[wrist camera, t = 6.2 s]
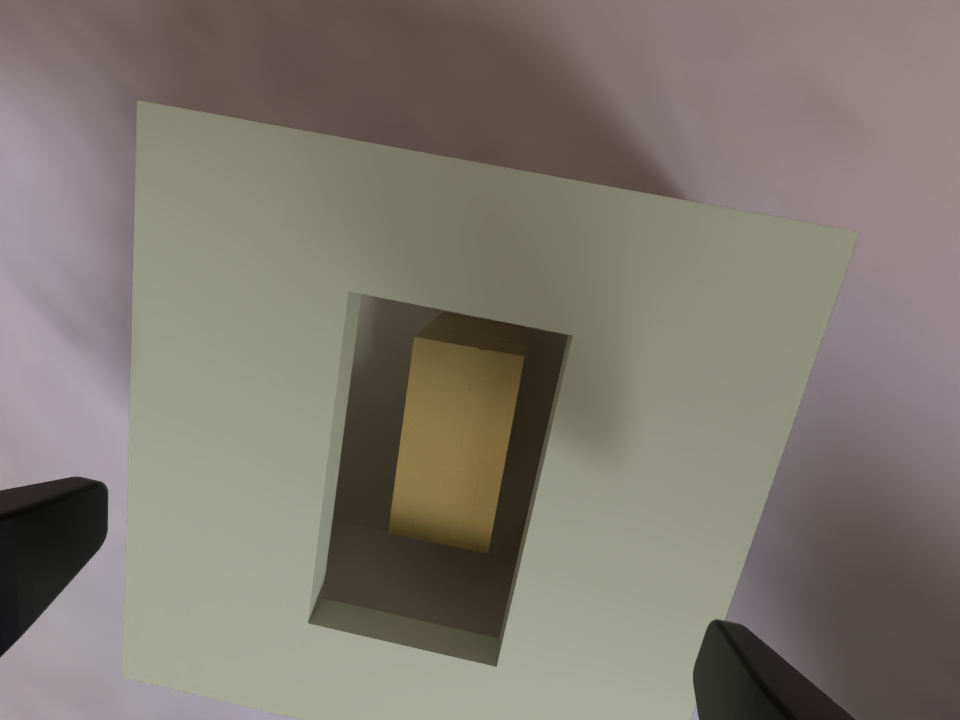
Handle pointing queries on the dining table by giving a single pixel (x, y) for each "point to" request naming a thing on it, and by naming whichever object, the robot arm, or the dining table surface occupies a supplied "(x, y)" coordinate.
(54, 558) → the robot arm
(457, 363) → the wooden block
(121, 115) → the dining table surface
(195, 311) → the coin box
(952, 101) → the dining table surface
